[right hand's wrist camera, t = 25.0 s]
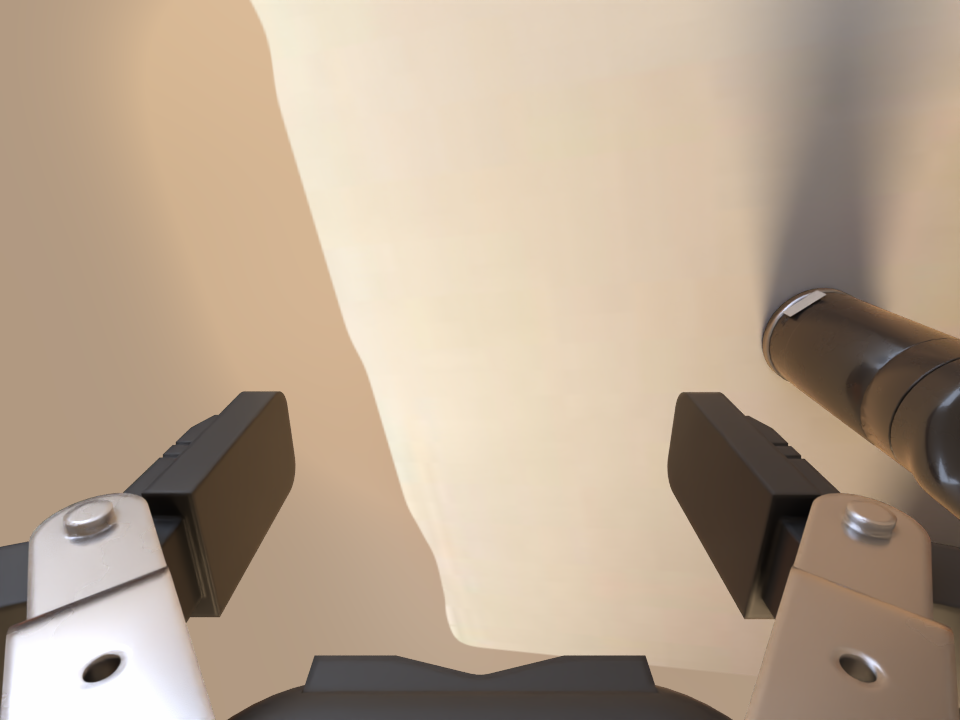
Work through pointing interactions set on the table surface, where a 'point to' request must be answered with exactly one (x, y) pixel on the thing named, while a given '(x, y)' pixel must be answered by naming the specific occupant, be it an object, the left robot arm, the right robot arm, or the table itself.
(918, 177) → the table surface
